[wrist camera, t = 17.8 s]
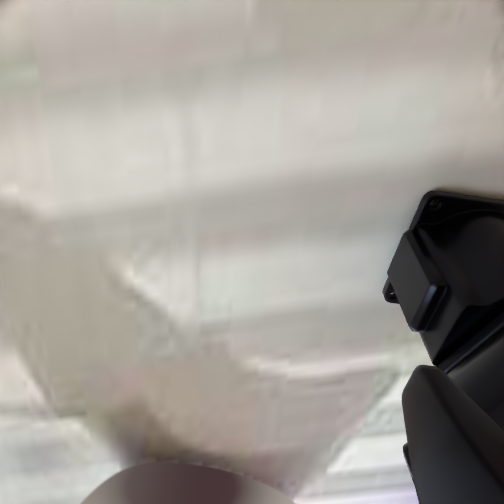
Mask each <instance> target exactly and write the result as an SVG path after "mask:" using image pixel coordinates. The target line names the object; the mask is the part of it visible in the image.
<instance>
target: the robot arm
mask: <svg viewBox="0 0 504 504" xmlns="http://www.w3.org/2000/svg"><path fill="white" fill-rule="evenodd" d="M433 200H438V201H437V202H436V203H435V204H433V205H430V203H431V201H433ZM387 274H388V276H389V277H388V279H387V281H386V284H385V286H384V288H383V295H384V298H385V300H386V301H387V302H390V303H397V304H400V306H401V308H402V311H403V313H404V316H405V318H406V321H407V323H408V326H409V327H410V328H411V330H412V331H415V332H419V333H420V335H421V338H422V340H423V342H424V345H425V347H426V349H427V352H428V354H429V356H430V359H431V361H432V363H433V365H435V366H427V365H419V366H417V367H416V368H415V370H414V372H413V373H412V375H411V377H410V379H409V381H408V383H407V384H406V386H405V388H404V390H403V393H402V406H403V413H404V421H405V428H406V435H407V443H406V444H405V445H404V446H403V453H404V458H405V460H406V463H407V466H408V468H409V471H410V474H411V477H412V480H413V482H414V484H415V488H416V492H417V496H418V500H419V504H504V201H503V200H496V199H489V198H483V197H476V196H469V195H462V194H456V193H449V192H442V191H430V192H428V193H426V194H425V195H424V196H423V198H422V200H421V202H420V204H419V207H418V209H417V211H416V214H415V216H414V218H413V221H412V223H411V225H410V228H409V230H407V231H406V232H405V233H404V234H403V236H402V238H401V241H400V243H399V245H398V248H397V250H396V252H395V255H394V257H393V259H392V262H391V264H390V267H389V269H388V271H387ZM392 292H395V293H394V294H390V293H392Z"/></svg>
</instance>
